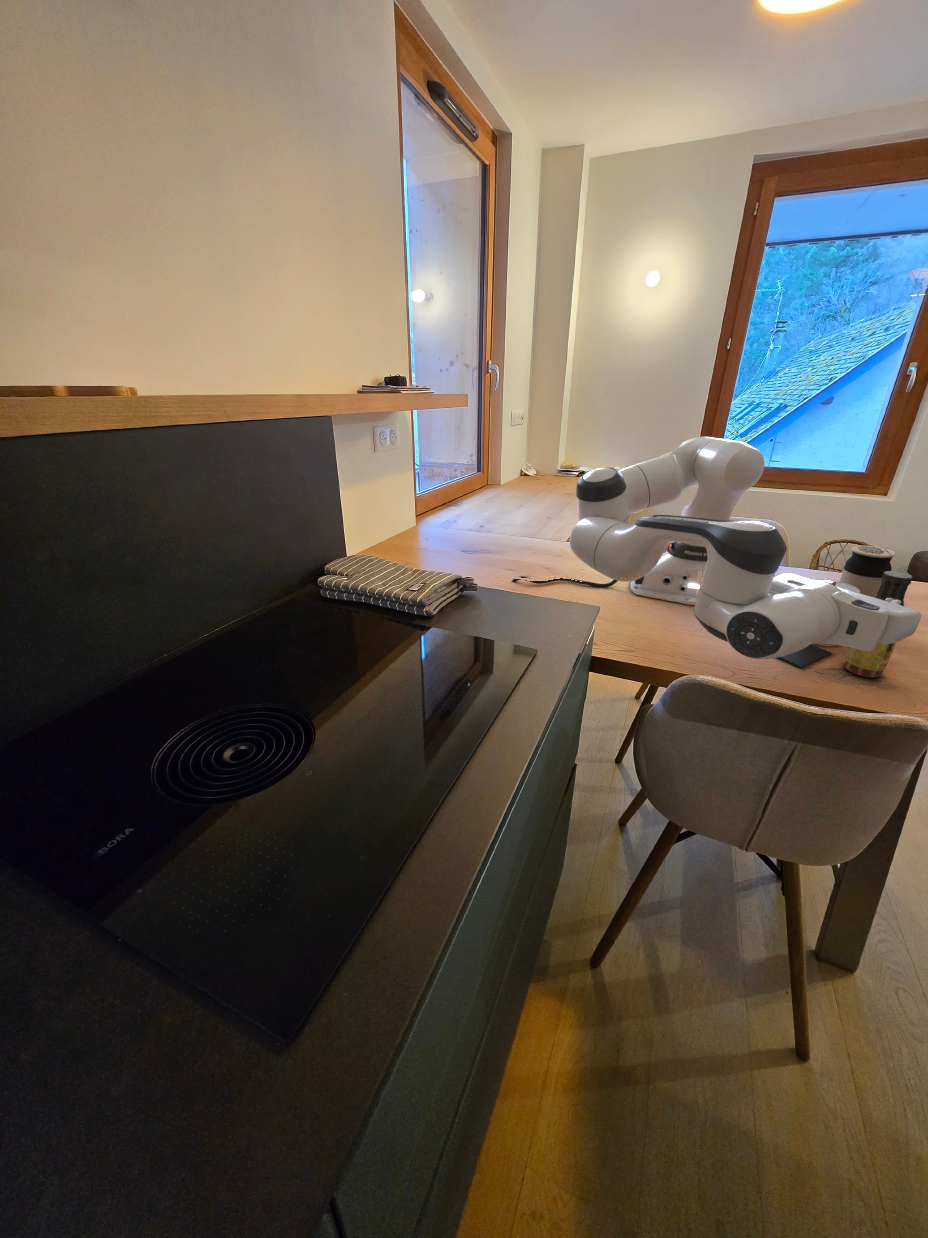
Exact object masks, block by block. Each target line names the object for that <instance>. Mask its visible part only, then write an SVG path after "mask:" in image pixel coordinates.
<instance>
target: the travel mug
mask: <svg viewBox="0 0 928 1238" xmlns="http://www.w3.org/2000/svg"><path fill="white" fill-rule="evenodd" d="M851 551H852V553H851V556H850V557H848V559H847V560H846V561H845V562H844V563H845V564H844V567H843V570H842V572H841V576H840V577H839V581H838V582H842V583H846V584H849V585H852V586H854V587H856V588H858V589H859V590H860V594H864V595H867V596H870V597H874V598H875V597H876V596H877V592H878V591H879V588H880V585H881V583H882V581H881V579H882V576H883V573H884V572H886V571H893V570H892V565H891V561H892V560H893V558H894V557H895V556H896V555H897V554H896V552H895V551H893V550H891V549H888V548H885V547H881V546H876V545H875V546H874V545H865V544H864V545H861V544H860V545H854V546H852V547H851Z"/></svg>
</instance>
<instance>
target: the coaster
mask: <svg viewBox="0 0 928 1238" xmlns="http://www.w3.org/2000/svg"><path fill="white" fill-rule="evenodd" d="M832 655H833V652H831V651H829V650H826V649H824V648H821V647H819V646H817V645H815V644H810V645H809V646H807V647H806V648H804V649H802V650H799V651H797V652H794V653H792V654H789V655H786V656H782V657H777V658H776V659H778V660H781V661H783V662H785V663H787V664H790V665H792V666H794V667H797V668H798V669H803V668H806V667H807V666H810V665H811V664H812V665H813V664H814V663H816V662H818V661H820V660H823V659H825V658H827V657H829V656H832Z"/></svg>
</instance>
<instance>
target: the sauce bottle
mask: <svg viewBox="0 0 928 1238" xmlns="http://www.w3.org/2000/svg"><path fill="white" fill-rule="evenodd" d="M912 580H913V575H911V574H909V573H906V572H902V571H895V570H891V571H886V572H884V573H883V576H882V579H881V581H882V583H881V585H880V588H879V591H878V592H877V596H876V597H875V598H877V599H881V600H884V601H885V599H889V598H893V599H897V600H900V601H901V603H900V605H901V606H905V595H906V592H907V590H908V587H909V586H910V585H911V584H912ZM896 644H897V642H895V643H891V644H877V646H876V647H875V649H874V650H872V651H861V650H857V649H853V648H849V647H848V650H847V653H846V656H845V662H844V668H845V670H847V671H848V673H849V672H850V673H851V674H854V675H855V676H859V677H863V678H867V679H868V678H869V679H875V678H880V677H881V676H882V675H883V673H884V671H885V670H886V669H887V667H888V663H889V662H890V659H891V657H892V654H893V651H894V649H895V646H896Z"/></svg>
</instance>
